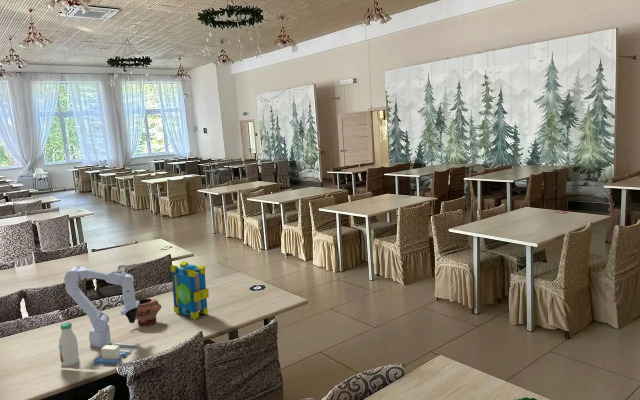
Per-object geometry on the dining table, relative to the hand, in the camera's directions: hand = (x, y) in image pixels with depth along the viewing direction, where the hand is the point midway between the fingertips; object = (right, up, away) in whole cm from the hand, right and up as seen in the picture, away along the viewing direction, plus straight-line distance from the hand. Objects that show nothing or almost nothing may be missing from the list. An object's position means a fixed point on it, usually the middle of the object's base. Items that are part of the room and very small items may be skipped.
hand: (132, 322), depth 250 cm
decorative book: (+20, -4, +38) cm, 43 cm away
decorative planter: (-2, -7, +24) cm, 25 cm away
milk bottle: (-21, -15, -21) cm, 33 cm away
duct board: (-2, -13, -14) cm, 19 cm away
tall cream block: (-2, -13, -19) cm, 23 cm away
